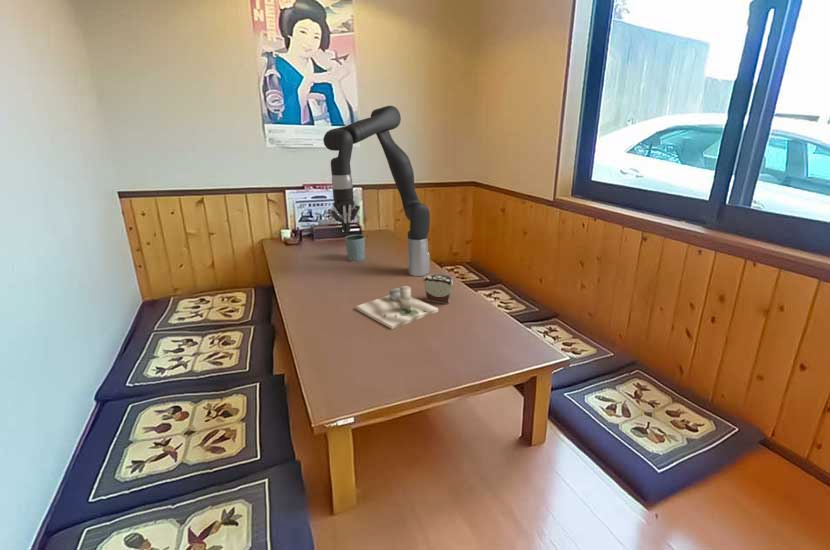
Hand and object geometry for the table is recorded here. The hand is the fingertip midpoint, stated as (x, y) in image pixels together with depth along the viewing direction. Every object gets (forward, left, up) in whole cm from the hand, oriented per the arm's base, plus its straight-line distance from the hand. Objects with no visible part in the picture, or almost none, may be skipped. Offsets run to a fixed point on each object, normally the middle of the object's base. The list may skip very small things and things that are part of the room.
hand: (346, 232), depth 169 cm
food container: (-27, +24, -28) cm, 46 cm away
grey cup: (-31, -44, -28) cm, 60 cm away
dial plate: (-7, +21, -28) cm, 36 cm away
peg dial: (-10, +20, -27) cm, 35 cm away
